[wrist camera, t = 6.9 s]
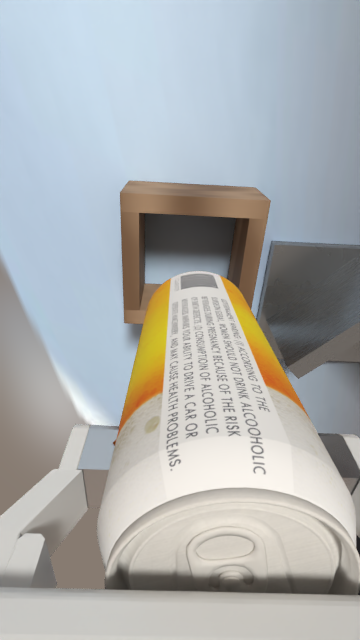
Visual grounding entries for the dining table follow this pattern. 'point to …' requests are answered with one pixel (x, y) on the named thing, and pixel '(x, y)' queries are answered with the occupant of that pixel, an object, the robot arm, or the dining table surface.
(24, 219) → the dining table surface
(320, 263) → the V-block
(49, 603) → the robot arm
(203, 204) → the walnut sleeve
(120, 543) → the beer can
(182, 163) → the dining table surface
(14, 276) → the dining table surface
